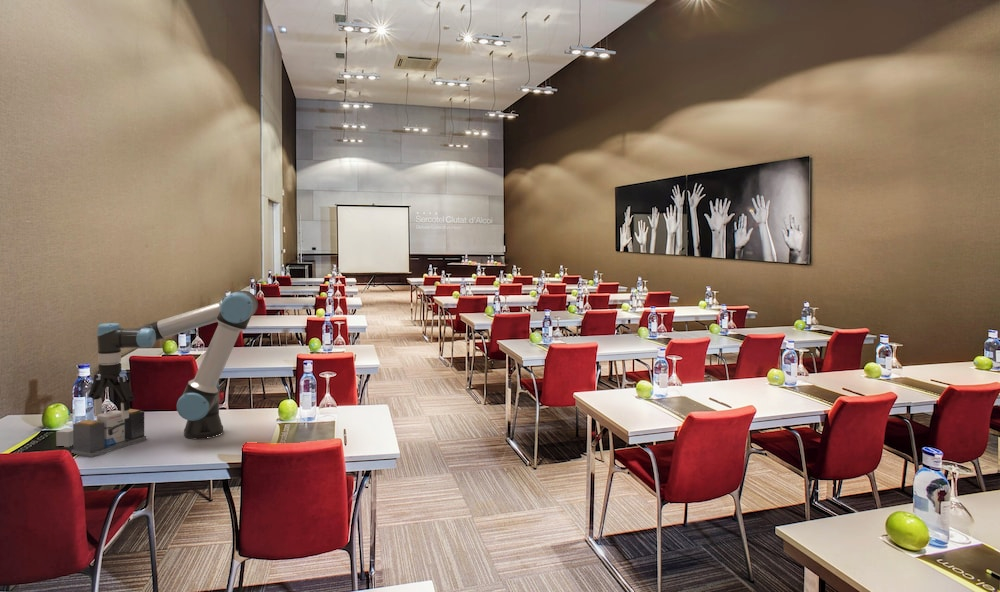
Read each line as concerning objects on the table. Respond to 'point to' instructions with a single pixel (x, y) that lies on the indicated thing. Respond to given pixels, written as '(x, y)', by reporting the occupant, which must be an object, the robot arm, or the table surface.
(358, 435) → the table surface
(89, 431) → the grey block holder
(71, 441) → the block
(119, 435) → the ink box
